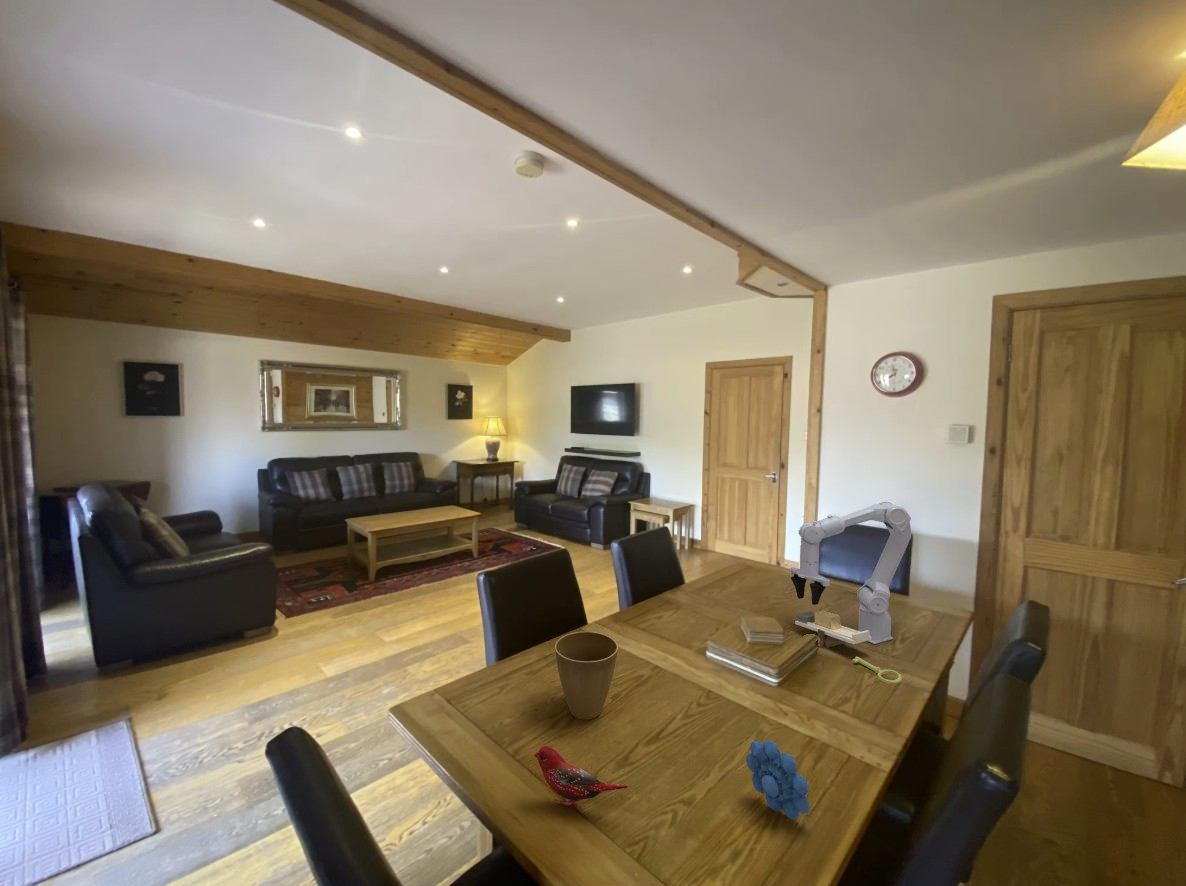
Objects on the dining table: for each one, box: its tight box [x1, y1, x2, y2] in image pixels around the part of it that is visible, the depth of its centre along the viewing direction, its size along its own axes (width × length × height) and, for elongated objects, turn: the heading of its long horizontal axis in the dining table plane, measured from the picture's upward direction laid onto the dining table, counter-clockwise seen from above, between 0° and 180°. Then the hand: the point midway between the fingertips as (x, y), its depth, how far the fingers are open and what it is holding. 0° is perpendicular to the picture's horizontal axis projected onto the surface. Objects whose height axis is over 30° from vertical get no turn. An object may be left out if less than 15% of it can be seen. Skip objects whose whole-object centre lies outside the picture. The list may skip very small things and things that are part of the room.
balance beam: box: [794, 611, 871, 645], centre depth 153 cm, size 21×8×3 cm, turn 25°
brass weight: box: [814, 610, 842, 630], centre depth 154 cm, size 6×4×4 cm
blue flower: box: [745, 740, 810, 821], centre depth 86 cm, size 12×7×12 cm, turn 44°
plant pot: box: [554, 631, 619, 720], centre depth 115 cm, size 15×15×16 cm
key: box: [851, 656, 903, 684], centre depth 135 cm, size 7×12×2 cm, turn 47°
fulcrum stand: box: [817, 623, 846, 649], centre depth 153 cm, size 3×10×5 cm, turn 115°
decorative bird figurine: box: [533, 745, 629, 808], centre depth 86 cm, size 3×18×10 cm, turn 73°
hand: (807, 601), depth 161 cm, fingers open, 5 cm apart
